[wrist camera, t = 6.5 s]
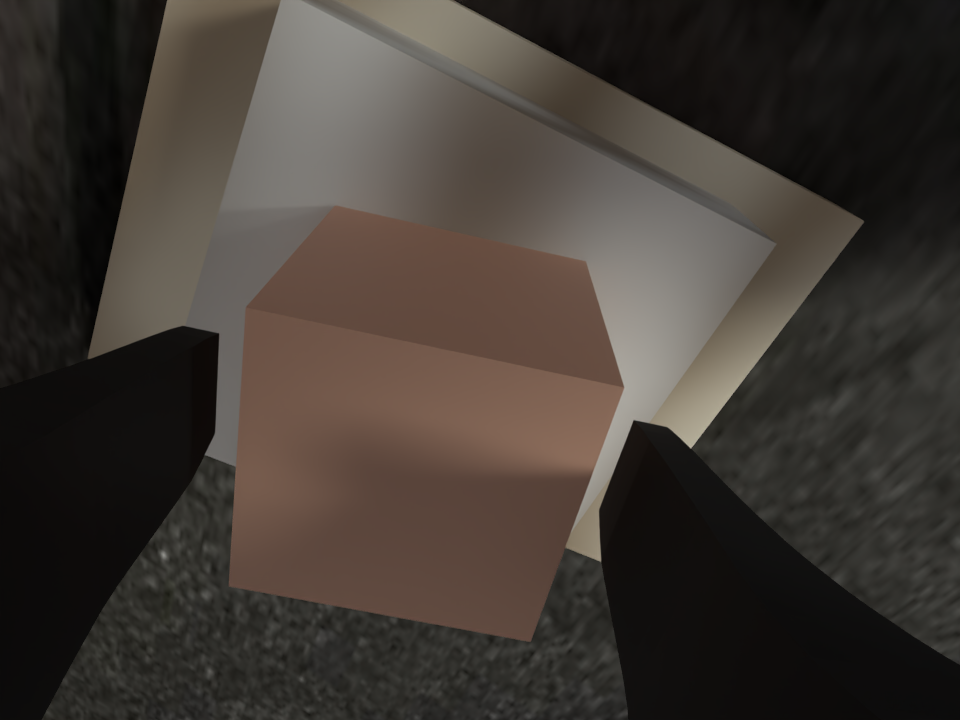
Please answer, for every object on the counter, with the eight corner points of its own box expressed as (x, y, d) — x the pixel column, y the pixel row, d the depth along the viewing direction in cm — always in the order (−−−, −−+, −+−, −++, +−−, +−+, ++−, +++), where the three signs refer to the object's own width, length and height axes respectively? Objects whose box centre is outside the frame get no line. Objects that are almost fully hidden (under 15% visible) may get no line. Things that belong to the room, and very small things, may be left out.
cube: (585, 261, 13) (624, 387, 9) (524, 461, 16) (530, 642, 11) (335, 205, 13) (246, 307, 9) (309, 418, 15) (229, 586, 11)
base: (836, 204, 17) (936, 265, 13) (597, 529, 22) (617, 643, 18) (225, -121, 14) (117, -171, 10) (115, 334, 20) (15, 418, 16)
